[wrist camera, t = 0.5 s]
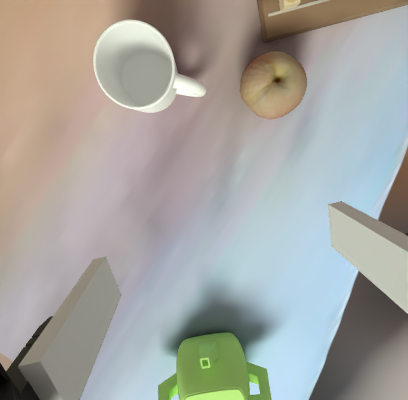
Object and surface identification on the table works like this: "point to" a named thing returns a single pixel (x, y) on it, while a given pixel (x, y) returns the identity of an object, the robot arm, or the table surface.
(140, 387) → the table surface
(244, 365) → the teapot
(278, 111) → the fruit
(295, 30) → the board
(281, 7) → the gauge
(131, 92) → the mug
